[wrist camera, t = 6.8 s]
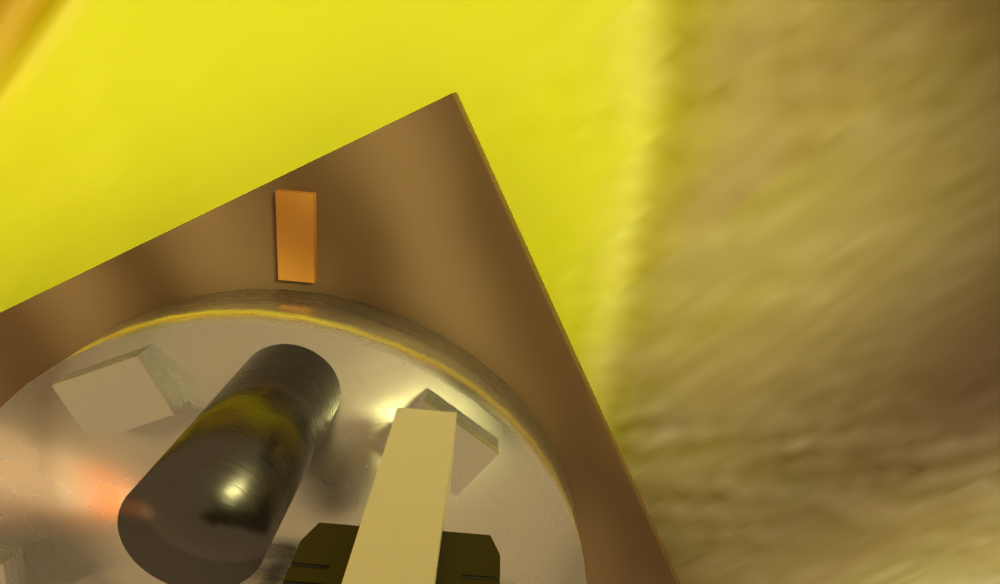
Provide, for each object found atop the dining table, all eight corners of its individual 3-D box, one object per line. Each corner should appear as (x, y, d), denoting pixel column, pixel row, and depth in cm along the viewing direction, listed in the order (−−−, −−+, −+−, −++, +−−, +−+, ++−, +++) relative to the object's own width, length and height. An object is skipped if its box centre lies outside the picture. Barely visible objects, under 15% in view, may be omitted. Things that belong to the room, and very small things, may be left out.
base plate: (456, 92, 20) (451, 93, 18) (694, 617, 28) (711, 662, 26) (-130, 376, 23) (-194, 406, 21) (232, 768, 31) (212, 819, 29)
